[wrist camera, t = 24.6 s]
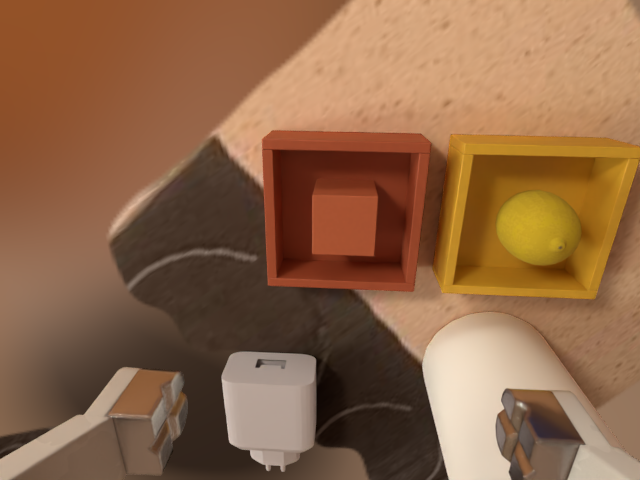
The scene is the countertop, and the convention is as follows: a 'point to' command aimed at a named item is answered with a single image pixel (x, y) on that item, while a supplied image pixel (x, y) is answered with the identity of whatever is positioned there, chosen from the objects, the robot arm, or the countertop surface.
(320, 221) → the block
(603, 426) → the can
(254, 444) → the charger
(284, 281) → the terracotta bin
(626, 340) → the countertop surface
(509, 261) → the yellow bin
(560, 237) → the lemon
